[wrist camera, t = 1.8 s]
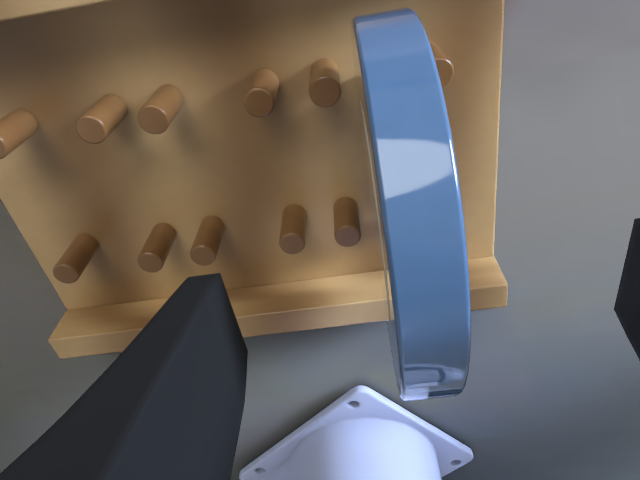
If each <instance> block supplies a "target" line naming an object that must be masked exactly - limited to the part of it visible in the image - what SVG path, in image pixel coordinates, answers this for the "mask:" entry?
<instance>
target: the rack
mask: <svg viewBox="0 0 640 480" xmlns="http://www.w3.org/2000/svg"><path fill="white" fill-rule="evenodd" d="M407 7H408V8H411V9H413V10H414V11H415V12H416V13H417V15H418V16H419V18H420V20H421V22H422V24H423V26H424V29H425V31H426V33H427V36H428V39H429V42H430V45H431V48H432V51H433V54H434V57H435V61H436V65H437V68H438V72H439V76H440V80H441V84H442V89H443V93H444V98H445V102H446V107H447V112H448V117H449V122H450V127H451V133H452V138H453V144H454V151H455V157H456V163H457V169H458V176H459V184H460V191H461V198H462V206H463V215H464V224H465V234H466V243H467V255H468V268H469V283H470V304H471V311H473V310H481V309H490V308H498V307H506V306H507V291H508V284H507V282H506V280H505V278H504V276H503V274H502V272H501V269H500V267H499V265H498V263H497V261H496V259H495V257H494V234H495V210H496V186H497V162H498V138H499V114H500V91H501V67H502V43H503V19H504V0H0V199H1V200H2V202H3V204H4V205H5V207H6V209H7V210H8V212H9V214H10V215H11V217H12V219H13V220H14V222H15V224H16V225H17V227H18V229H19V230H20V232H21V234H22V235H23V237H24V239H25V240H26V242H27V244H28V245H29V247H30V249H31V250H32V252H33V254H34V255H35V257H36V259H37V260H38V262H39V264H40V265H41V267H42V269H43V270H44V272H45V274H46V275H47V277H48V279H49V280H50V282H51V284H52V285H53V287H54V289H55V290H56V292H57V294H58V295H59V297H60V299H61V300H62V302H63V304H64V305H65V307H66V309H67V311H66V312H65V314H64V315H63V317H62V318H61V320H60V322H59V323H58V325H57V326H56V328H55V330H54V331H53V333H52V334H51V336H50V338H49V339H48V342H49V343H50V345H51V346H52V348H53V349H54V351H55V352H56V354H57V355H58V357H59V358H60V359H64V358H73V357H81V356H90V355H98V354H107V353H115V352H123V351H124V350H125V349H126V347H127V346H128V345H129V344H130V343H131V342H132V341H133V340H134V338H135V337H136V336H137V335H138V334H139V333H140V332H141V330H142V329H143V328H144V327H145V326H146V325H147V323H148V322H149V321H150V320H151V319H152V318H153V316H154V315H155V314H156V313H157V312H158V311H159V309H160V308H161V307H162V306H163V305H164V304H165V302H166V301H167V300H168V299H169V298H170V297H171V295H172V294H173V293H174V292H175V291H176V290H177V288H178V287H179V286H180V285H181V284H182V283H183V282H184V281H185V280H186V279H187V278H188V277H192V276H199V275H207V274H215V273H220V274H221V277H222V280H223V282H224V285H225V288H226V291H227V294H228V297H229V300H230V302H231V305H232V308H233V311H234V314H235V317H236V319H237V322H238V325H239V328H240V331H241V334H242V337H251V336H260V335H268V334H277V333H285V332H294V331H302V330H311V329H319V328H328V327H336V326H345V325H354V324H362V323H371V322H379V321H387V320H386V314H385V307H384V300H383V293H382V286H381V280H380V273H379V265H378V258H377V251H376V244H375V237H374V229H373V222H372V214H371V207H370V201H369V194H368V185H367V177H366V169H365V161H364V153H363V145H362V137H361V128H360V120H359V112H358V104H357V96H356V88H355V79H354V76H355V75H354V66H353V55H352V44H351V29H350V24H351V19H352V18H354V17H355V16H361V15H366V14H372V13H378V12H384V11H389V10H395V9H401V8H407Z"/></svg>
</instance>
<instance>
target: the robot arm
mask: <svg viewBox="0 0 640 480" xmlns="http://www.w3.org/2000/svg"><path fill="white" fill-rule="evenodd" d="M614 310H615V312H616V314H617V316H618V318H619V320H620V323H621V325H622V327H623V329H624V331H625V333H626V335H627V337H628V339H629V341H630V343H631V345H632V346H633V348H634V350H635V352H636V354H637V356H638V358H639V360H640V218H638V219H635V220H634V224H633V229H632V233H631V237H630V242H629V246H628V250H627V255H626V259H625V263H624V268H623V272H622V277H621V281H620V285H619V290H618V294H617V298H616V303H615V307H614ZM247 353H248V351H247V348H246V345H245V342H244V339H243V337H242V334H241V331H240V328H239V325H238V322H237V319H236V317H235V314H234V311H233V308H232V305H231V302H230V300H229V297H228V294H227V291H226V288H225V285H224V282H223V280H222V277H221V274H220V273H215V274H207V275H199V276H192V277H188V278H187V279H186V280H185V281H184V282H183V283H182V284H181V285H180V286H179V287H178V288H177V290H176V291H175V292H174V293H173V294H172V295H171V297H170V298H169V299H168V300H167V301H166V302H165V304H164V305H163V306H162V307H161V308H160V309H159V311H158V312H157V313H156V314H155V315H154V316H153V318H152V319H151V320H150V321H149V322H148V323H147V325H146V326H145V327H144V328H143V329H142V330H141V332H140V333H139V334H138V335H137V336H136V337H135V338H134V340H133V341H132V342H131V343H130V344H129V345H128V346H127V347H126V349H125V350H124V351H123V352H122V353H121V354H120V355H119V357H118V358H117V359H116V360H115V361H114V362H113V363H112V364H111V365H110V366H109V368H108V369H107V370H106V371H105V372H104V373H103V374H102V375H101V376H100V377H99V378H98V379H97V380H96V381H95V382H94V383H93V384H92V385H91V386H90V387H89V389H88V390H87V391H86V392H85V393H84V394H83V395H82V396H81V397H80V398H79V399H78V400H77V401H76V402H75V403H74V404H73V405H72V406H71V407H70V408H69V409H68V411H67V412H66V413H65V414H64V415H63V416H62V417H61V418H60V419H59V420H57V421H56V422H55V423H54V424H53V425H52V426H51V427H50V428H49V429H48V430H47V431H46V432H45V433H44V434H43V435H42V436H41V437H40V438H39V439H38V440H37V441H36V442H35V443H33V444H32V445H31V446H30V447H29V448H28V449H27V450H26V451H25V452H23V453H22V454H21V455H20V456H19V457H18V458H17V459H16V460H15V461H14V462H12V463H11V464H10V465H9V466H8V467H7V468H6V469H5V470H4V471H3V472H1V473H0V480H230V478H231V472H232V467H233V462H234V457H235V451H236V446H237V441H238V435H239V430H240V424H241V419H242V413H243V408H244V402H245V388H246V373H247ZM472 459H473V453H472V450H471V449H470V448H469V447H468V446H466V445H464V444H462V443H461V442H459V441H457V440H456V439H454V438H452V437H451V436H449V435H447V434H446V433H444V432H442V431H441V430H439V429H437V428H436V427H434V426H432V425H431V424H429V423H427V422H426V421H424V420H422V419H421V418H419V417H417V416H416V415H414V414H412V413H411V412H409V411H407V410H406V409H404V408H402V407H401V406H399V405H397V404H396V403H394V402H392V401H391V400H389V399H387V398H386V397H384V396H382V395H381V394H379V393H377V392H375V391H374V390H372V389H370V388H369V387H366V386H362V385H359V386H356V387H354V388H352V389H351V390H349V391H348V392H347V393H345V394H344V395H342V396H341V397H340V398H338V399H337V400H336V401H334V402H333V403H331V404H330V405H329V406H327V407H326V408H325V409H323V410H322V411H321V412H319V413H318V414H316V415H315V416H314V417H312V418H311V419H310V420H308V421H307V422H306V423H304V424H303V425H301V426H300V427H299V428H297V429H296V430H295V431H293V432H292V433H291V434H289V435H288V436H286V437H285V438H284V439H282V440H281V441H280V442H278V443H277V444H275V445H274V446H273V447H271V448H270V449H269V450H267V451H266V452H265V453H263V454H262V455H260V456H259V457H258V458H256V459H255V460H254V461H252V462H251V463H250V464H248V465H247V466H245V467H244V468H243V469H241V471H240V476H239V479H240V480H441V477H443V476H445V475H447V474H449V473H450V472H452V471H454V470H456V469H458V468H459V467H461V466H463V465H465V464H467V463H468V462H470V461H471V460H472Z"/></svg>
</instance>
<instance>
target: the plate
mask: <svg viewBox="0 0 640 480" xmlns="http://www.w3.org/2000/svg"><path fill="white" fill-rule="evenodd" d="M350 29H351V44H352V55H353V66H354V75H355V76H354V79H355V88H356V96H357V104H358V112H359V120H360V128H361V137H362V145H363V153H364V161H365V169H366V177H367V185H368V194H369V201H370V207H371V214H372V222H373V229H374V237H375V244H376V251H377V258H378V265H379V273H380V280H381V286H382V293H383V300H384V307H385V314H386V320H387V327H388V333H389V340H390V346H391V352H392V358H393V364H394V370H395V375H396V381H397V386H398V390H399V394H400V396H401V398H402V400H404V401H412V400H421V399H431V398H441V397H451V396H457V395H458V394H460V393H461V392H462V391H463V389H464V387H465V385H466V380H467V375H468V370H469V361H470V345H471V304H470V283H469V268H468V255H467V243H466V234H465V224H464V215H463V206H462V198H461V191H460V184H459V176H458V169H457V163H456V157H455V151H454V144H453V138H452V133H451V127H450V122H449V117H448V112H447V107H446V102H445V98H444V93H443V89H442V84H441V80H440V76H439V72H438V68H437V65H436V61H435V57H434V54H433V51H432V48H431V45H430V42H429V39H428V36H427V33H426V31H425V29H424V26H423V24H422V22H421V20H420V18H419V16H418V15H417V13H416V12H415V11H414V10H413V9H411V8H408V7H407V8H401V9H395V10H389V11H384V12H378V13H372V14H366V15H361V16H355V17H354V18H352V19H351V24H350Z"/></svg>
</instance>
